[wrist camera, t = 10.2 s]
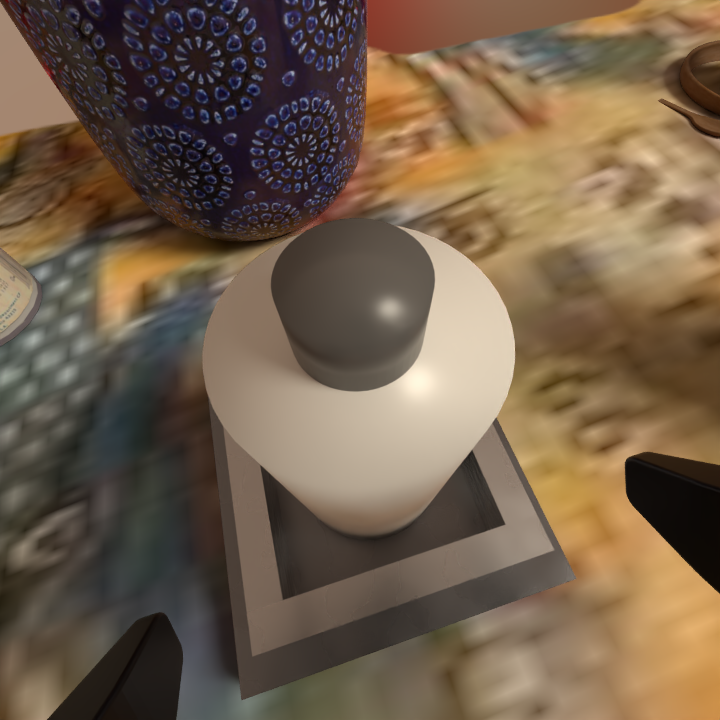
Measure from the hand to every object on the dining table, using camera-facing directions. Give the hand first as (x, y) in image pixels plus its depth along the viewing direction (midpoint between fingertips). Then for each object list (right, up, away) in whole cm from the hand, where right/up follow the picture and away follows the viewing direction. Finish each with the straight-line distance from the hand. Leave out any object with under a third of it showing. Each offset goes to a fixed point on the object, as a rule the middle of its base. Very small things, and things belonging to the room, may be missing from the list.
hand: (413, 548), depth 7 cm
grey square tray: (-1, -2, +11) cm, 12 cm away
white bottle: (-1, -1, +10) cm, 10 cm away
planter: (-8, +16, +22) cm, 29 cm away
